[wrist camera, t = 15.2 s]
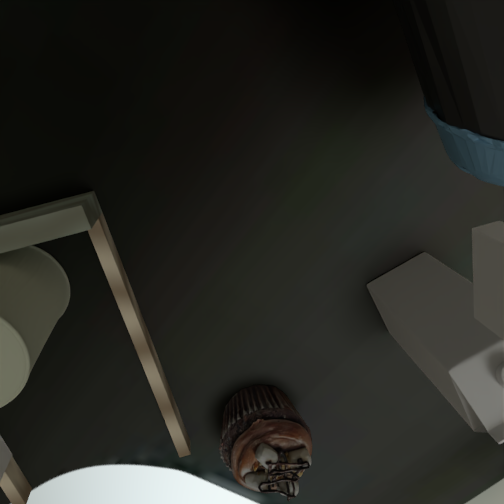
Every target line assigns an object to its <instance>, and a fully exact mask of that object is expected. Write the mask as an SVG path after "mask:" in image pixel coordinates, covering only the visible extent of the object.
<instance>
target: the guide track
mask: <svg viewBox="0 0 504 504" xmlns="http://www.w3.org/2000/svg"><path fill="white" fill-rule="evenodd" d="M86 230H88V233H89V235H90V238H91V240H92V243H93V245H94V247H95V250H96V252H97V255H98V257H99V260H100V262H101V265H102V267H103V270H104V272H105V275H106V277H107V279H108V282H109V284H110V287H111V289H112V292H113V294H114V297H115V299H116V302H117V304H118V307H119V309H120V311H121V314H122V316H123V319H124V321H125V324H126V326H127V329H128V331H129V334H130V336H131V339H132V341H133V343H134V346H135V348H136V351H137V353H138V356H139V358H140V361H141V363H142V366H143V368H144V371H145V373H146V375H147V378H148V380H149V383H150V385H151V388H152V390H153V393H154V395H155V398H156V400H157V403H158V405H159V407H160V410H161V412H162V415H163V417H164V420H165V422H166V425H167V427H168V430H169V432H170V435H171V437H172V440H173V442H174V444H175V447H176V449H177V452H178V454H179V457H183V456H186V455H190V439H189V436H188V434H187V431H186V429H185V426H184V423H183V421H182V418H181V416H180V413H179V410H178V408H177V405H176V403H175V400H174V397H173V395H172V392H171V390H170V387H169V384H168V382H167V379H166V377H165V374H164V371H163V369H162V366H161V364H160V361H159V358H158V356H157V353H156V351H155V348H154V345H153V343H152V340H151V338H150V335H149V332H148V330H147V327H146V325H145V322H144V319H143V317H142V314H141V312H140V309H139V306H138V304H137V301H136V299H135V296H134V293H133V291H132V288H131V286H130V283H129V280H128V278H127V275H126V273H125V270H124V267H123V265H122V262H121V260H120V257H119V254H118V252H117V249H116V247H115V244H114V241H113V239H112V236H111V234H110V231H109V228H108V226H107V223H106V221H105V218H104V215H103V213H102V210H101V208H100V205H99V202H98V200H97V197H96V195H95V192H94V191H92V192H88V193H84V194H80V195H76V196H72V197H69V198H65V199H61V200H57V201H53V202H49V203H46V204H42V205H38V206H34V207H30V208H26V209H23V210H19V211H15V212H11V213H7V214H3V215H0V253H4V252H8V251H11V250H15V249H19V248H23V247H26V246H30V245H34V244H38V243H41V242H45V241H49V240H53V239H56V238H60V237H64V236H68V235H71V234H75V233H79V232H83V231H86ZM0 486H1V488H2V489H3V491H4V492H5V494H6V495H7V497H8V498H9V500H10V501H11V503H12V504H26V503H27V500H28V497H29V495H30V492H31V489H32V488H31V486H30V484H29V483H28V481H27V479H26V478H25V476H24V475H23V473H22V471H21V470H20V468H19V467H18V465H17V463H16V462H15V460H14V458H13V457H11V459H10V461H9V463H8V466H7V468H6V470H5V472H4V474H3V476H2V479H1V481H0Z"/></svg>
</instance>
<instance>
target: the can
mask: <svg viewBox="0 0 504 504" xmlns="http://www.w3.org/2000/svg"><path fill="white" fill-rule="evenodd" d="M69 299H70V284H69V280H68V277H67V275H66V273H65V271H64V269H63V268H62V266H61V265H60V264H59V262H58V261H57V260H56V259H55V258H54V257H52V256H51V255H50V254H49V253H47V252H46V251H44V250H42V249H40V248H38V247H36V246H33V245H30V246H26V247H23V248H19V249H15V250H11V251H8V252H4V253H0V408H1V407H3V406H4V405H6V404H7V403H9V402H10V401H12V400H13V399H14V398H15V397H16V396H17V395H18V394H19V393H20V392H21V390H22V389H23V388H24V386H25V384H26V382H27V380H28V377H29V374H30V372H31V370H32V368H33V366H34V364H35V362H36V360H37V358H38V356H39V354H40V352H41V350H42V348H43V346H44V345H45V343H46V341H47V339H48V337H49V335H50V333H51V332H52V330H53V328H54V326H55V324H56V322H57V321H58V319H59V318H60V317H61V316H62V314H63V313H64V312H65V310H66V308H67V306H68V303H69Z"/></svg>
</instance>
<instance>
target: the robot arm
mask: <svg viewBox="0 0 504 504" xmlns="http://www.w3.org/2000/svg"><path fill="white" fill-rule="evenodd" d="M393 2H394V5H395V8H396V11H397V14H398V17H399V20H400V23H401V26H402V29H403V32H404V35H405V37H406V41H407V44H408V47H409V50H410V53H411V56H412V59H413V63H414V66H415V69H416V72H417V75H418V78H419V81H420V85H421V88H422V91H423V94H424V106H425V110H426V112H427V114H428V116H429V117H430V118H431V119H432V121H433V122H434V123H435V125H436V127H437V130H438V132H439V135H440V137H441V140H442V142H443V145H444V148H445V150H446V152H447V154H448V156H449V158H450V159H451V160H452V162H453V163H454V164H455V165H456V166H457V167H458V168H460V169H461V170H463V171H465V172H467V173H469V174H472V175H473V176H475V177H476V178H477V179H479V180H482V181H484V182H488V183H491V184H495V185H499V186H504V0H393ZM472 253H473V291H474V318H475V319H477V320H478V321H479V322H481V323H482V324H483V325H484V326H486V327H487V328H488V329H490V330H491V331H492V332H494V333H495V334H496V335H497V336H499V337H500V338H501V339H503V340H504V222H501V221H496V222H493V223H489V224H485V225H482V226H478V227H475V228H472ZM11 457H12V453H11V452H10V450H9V448H8V447H7V445H6V443H5V442H4V440H3V439H2V437H1V435H0V481H1V479H2V476H3V474H4V472H5V470H6V468H7V466H8V463H9V461H10V459H11Z"/></svg>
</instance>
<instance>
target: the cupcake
mask: <svg viewBox="0 0 504 504" xmlns="http://www.w3.org/2000/svg"><path fill="white" fill-rule="evenodd" d="M219 450H220V453H219V454H221V458H222V459H223V461H224V463H225V462H226V467H229V470H230V471H232V473H233V476H234V478H235V479H236V481H237V482H238V483H239V484H241V485H242V486H244V487H246V488H248V489H251V490H254V491H259V492H261V493H272V492H279V493H280V494H282V495H285V496H288V497H287V500H288V501H289V500H290V499H291V498H294V497H296V495H297V494H298V492H299V485H298V480H299V477H301V475H302V474H303V472H304V470H305V469H307V468H309V466H310V465H311V453H312V438H311V433H310V429H309V427H308V426H307V425H306V423H305V422H304V420H303V419H302V417H301V416H300V414H299V413H298V412H297V410H296V409H295V408H294V406H293V405H292V403H291V401H290V400H289V398H288V397H287V396H286V395H285V394H284V393H283V392H282V391H281V390H279V389H278V388H276V387H274V386H266V385H253V386H250V387H247V388H244V389H242V390H240V391H239V392H238V393H236V394H235V395H234V396H233V397H232V398H231V399H230V401H229V402H228V403H227V405H226V407H225V411H224V415H223V422H222V432H221V438H220V446H219ZM275 489H278V490H275Z"/></svg>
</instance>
